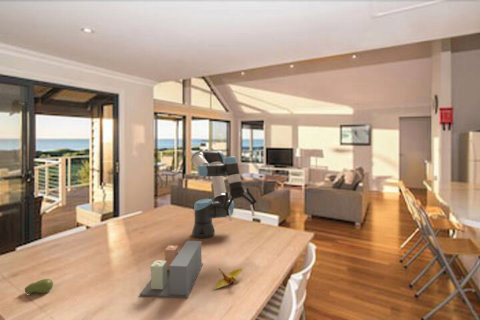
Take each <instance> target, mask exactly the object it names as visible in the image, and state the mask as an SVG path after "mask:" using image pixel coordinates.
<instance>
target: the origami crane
mask: <svg viewBox="0 0 480 320" xmlns="http://www.w3.org/2000/svg"><path fill="white" fill-rule="evenodd" d="M243 269H244V268H243V267H240V268H236V269H233V270H231V271H230V272H229V273H227V274H225V273H226V272H223V270H222V269H221V268H220V267H218V271H219V272H220V275H222V276H223V278H220V279H219V280H218V282H216V285H215V286H214V288H212V291H214V290H218V289H220V288H222V287H226V286H229V285H233V284H234V283H237V279H238V277H239V275H240V274H241V272H242V270H243Z"/></svg>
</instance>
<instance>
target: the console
mask: <svg viewBox="0 0 480 320" xmlns="http://www.w3.org/2000/svg"><path fill="white" fill-rule="evenodd" d="M203 266H204V263H202V240H187V241H186V242H185V244H184V245H183V246H182V247H181V249H180V250H179V251H178V255H177V256H176V257H175V259H174V260H173V262H172V263H171V264H170V270H167V284H166V286H165V287H164V289H163V290H161V289H151V279H150V280H149V281H148V283H146V285H145V287H144V288H143V289H142V291H140V293H139V294H138V295H139V297H146V298H147V297H148V298H167V299H168V298H169V299H186V300H187V299H189V296H190V294H191V292H192V289H193V288H194V285H195V283H196V281H197V279H198V278H199V275H200V272H201V270H202V268H203Z"/></svg>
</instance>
